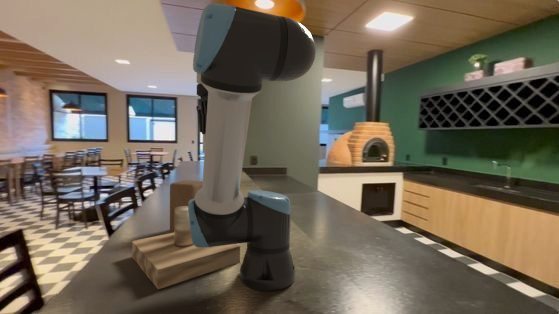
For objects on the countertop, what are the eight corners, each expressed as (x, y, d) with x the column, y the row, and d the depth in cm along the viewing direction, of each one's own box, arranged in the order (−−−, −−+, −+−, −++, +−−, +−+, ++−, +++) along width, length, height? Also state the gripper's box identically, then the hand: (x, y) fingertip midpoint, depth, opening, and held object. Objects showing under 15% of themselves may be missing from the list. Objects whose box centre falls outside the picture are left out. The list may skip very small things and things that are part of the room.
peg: (198, 258, 83) (199, 208, 82) (178, 264, 79) (179, 212, 78) (190, 252, 87) (190, 205, 87) (170, 257, 83) (171, 207, 82)
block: (192, 237, 103) (192, 184, 101) (168, 234, 105) (168, 183, 103) (204, 228, 112) (205, 181, 111) (182, 226, 114) (183, 179, 113)
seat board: (239, 262, 83) (240, 210, 82) (158, 289, 66) (158, 225, 65) (203, 239, 100) (203, 196, 99) (131, 256, 84) (131, 206, 83)
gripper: (227, 83, 91) (226, 153, 92) (208, 88, 101) (208, 152, 102) (206, 80, 86) (206, 154, 87) (189, 85, 96) (188, 152, 97)
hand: (207, 152), depth 95 cm, fingers closed
